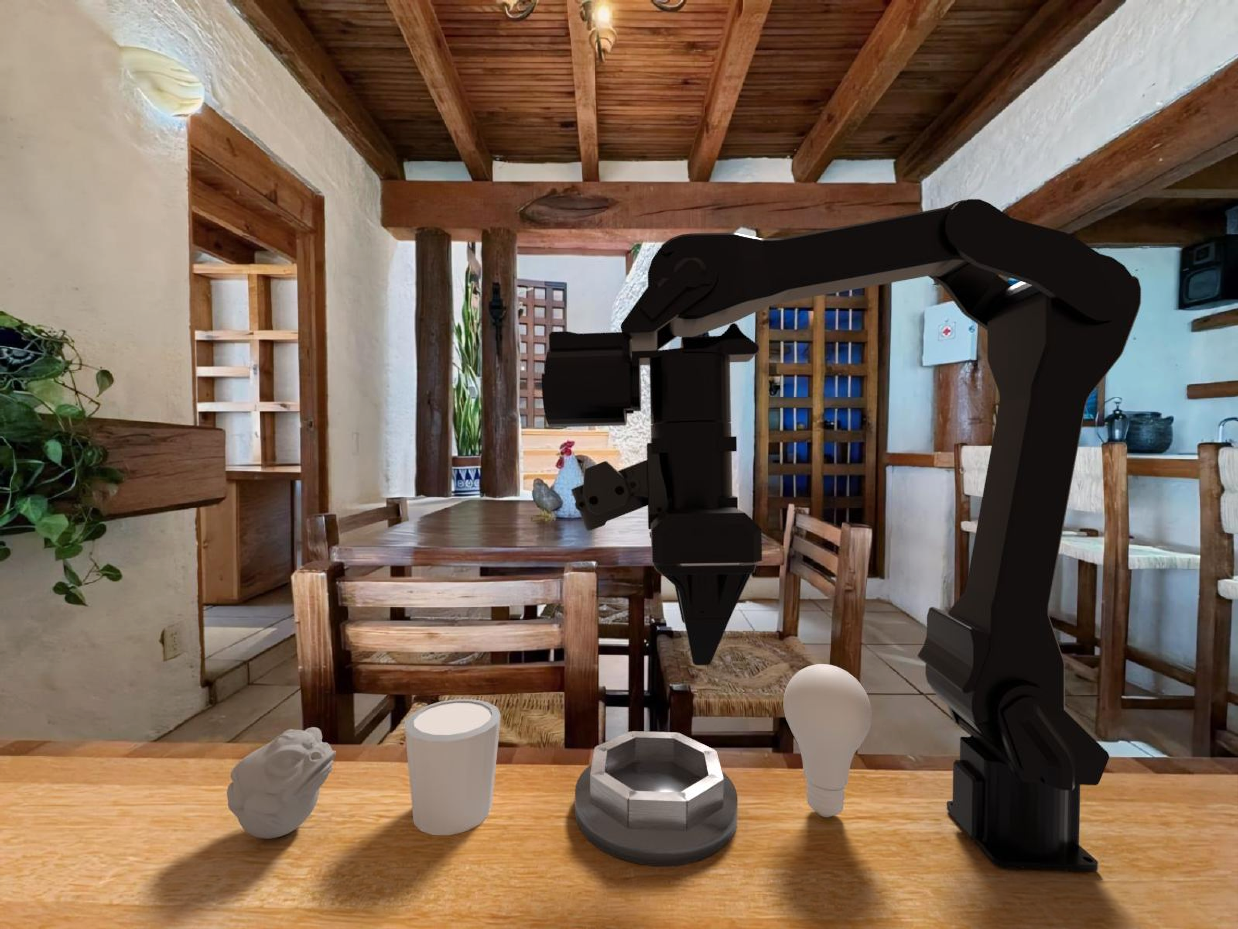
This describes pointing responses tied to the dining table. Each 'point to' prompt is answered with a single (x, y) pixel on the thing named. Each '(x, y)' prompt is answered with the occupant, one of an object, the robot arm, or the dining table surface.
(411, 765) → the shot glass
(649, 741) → the socket base
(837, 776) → the lightbulb
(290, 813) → the frog figurine
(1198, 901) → the dining table surface
